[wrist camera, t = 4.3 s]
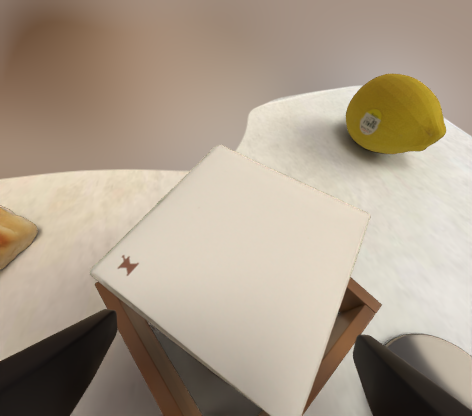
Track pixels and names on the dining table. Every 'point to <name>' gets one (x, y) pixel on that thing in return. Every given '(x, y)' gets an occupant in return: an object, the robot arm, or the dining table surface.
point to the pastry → (14, 235)
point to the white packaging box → (242, 274)
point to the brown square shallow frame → (170, 384)
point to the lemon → (395, 115)
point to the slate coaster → (437, 363)
